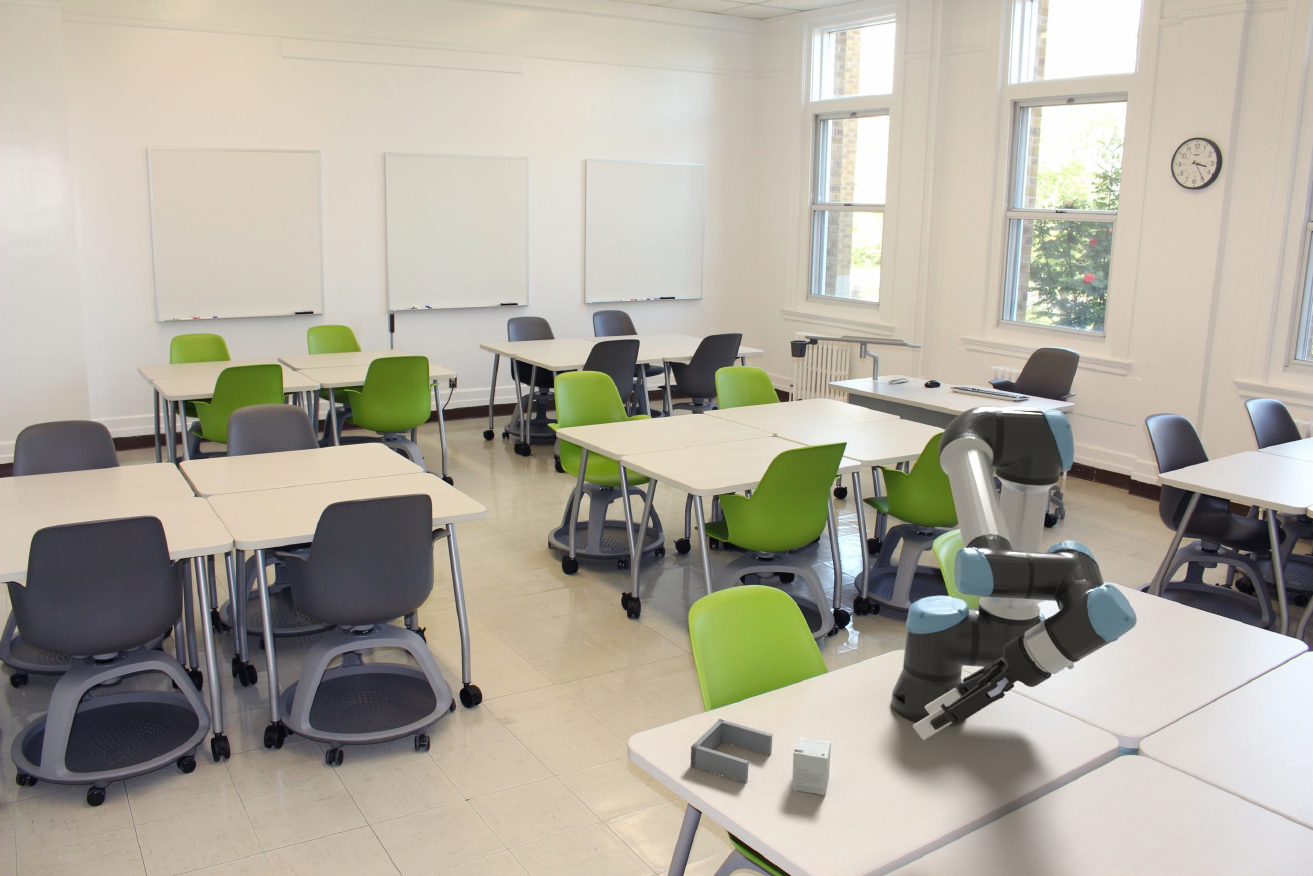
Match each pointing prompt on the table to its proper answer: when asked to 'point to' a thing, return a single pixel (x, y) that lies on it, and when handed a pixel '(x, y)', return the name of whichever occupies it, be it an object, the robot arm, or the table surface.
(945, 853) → the table surface
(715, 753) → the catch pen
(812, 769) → the skincare box
